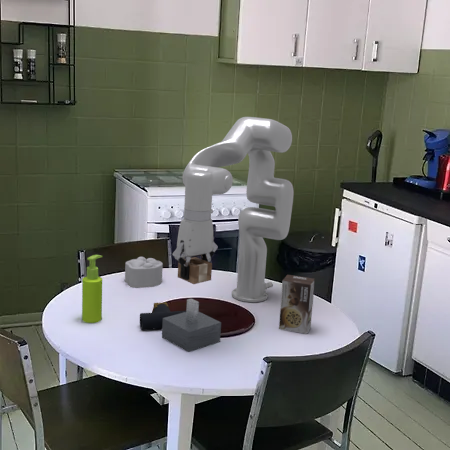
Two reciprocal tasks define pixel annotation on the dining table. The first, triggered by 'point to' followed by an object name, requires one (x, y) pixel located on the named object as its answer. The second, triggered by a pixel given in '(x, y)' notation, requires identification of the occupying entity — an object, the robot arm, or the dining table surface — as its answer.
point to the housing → (191, 328)
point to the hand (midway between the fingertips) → (194, 275)
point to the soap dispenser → (92, 293)
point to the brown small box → (197, 270)
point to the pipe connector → (156, 316)
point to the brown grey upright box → (296, 303)
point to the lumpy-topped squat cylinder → (143, 272)
